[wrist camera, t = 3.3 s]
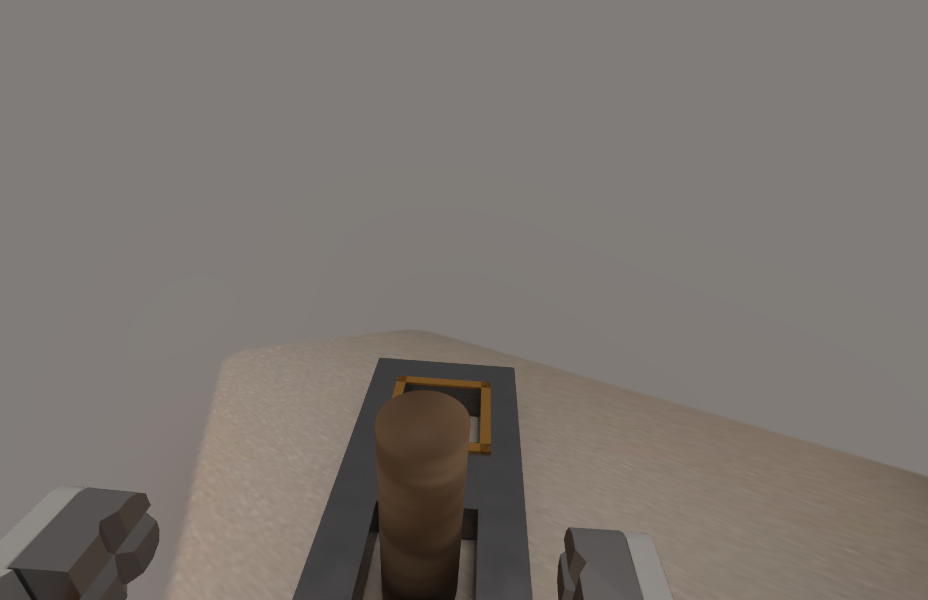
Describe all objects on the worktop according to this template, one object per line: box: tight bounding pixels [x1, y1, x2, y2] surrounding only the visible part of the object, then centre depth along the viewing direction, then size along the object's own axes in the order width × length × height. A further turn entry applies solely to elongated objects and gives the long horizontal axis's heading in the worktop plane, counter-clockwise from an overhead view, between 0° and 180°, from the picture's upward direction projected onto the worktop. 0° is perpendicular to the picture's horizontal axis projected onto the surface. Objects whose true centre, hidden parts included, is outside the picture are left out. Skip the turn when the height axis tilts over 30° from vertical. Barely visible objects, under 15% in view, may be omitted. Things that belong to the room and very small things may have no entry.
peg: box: [375, 390, 470, 600], centre depth 25 cm, size 4×4×13 cm
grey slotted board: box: [293, 358, 532, 600], centre depth 33 cm, size 12×26×3 cm, turn 177°
